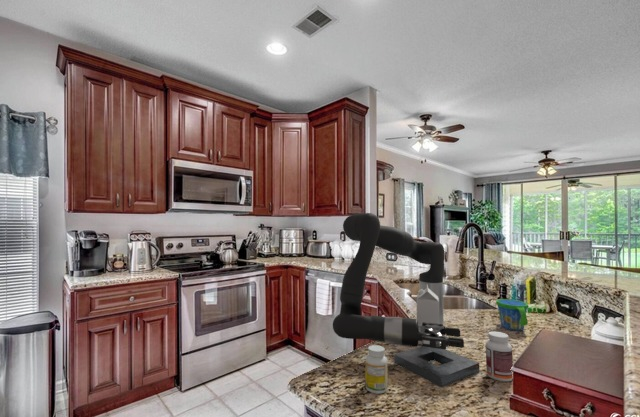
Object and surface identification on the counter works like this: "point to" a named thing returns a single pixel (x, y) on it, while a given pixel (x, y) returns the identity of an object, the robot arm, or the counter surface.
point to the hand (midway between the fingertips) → (461, 337)
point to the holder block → (439, 375)
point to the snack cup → (512, 314)
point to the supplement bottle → (376, 370)
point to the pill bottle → (499, 357)
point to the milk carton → (427, 307)
